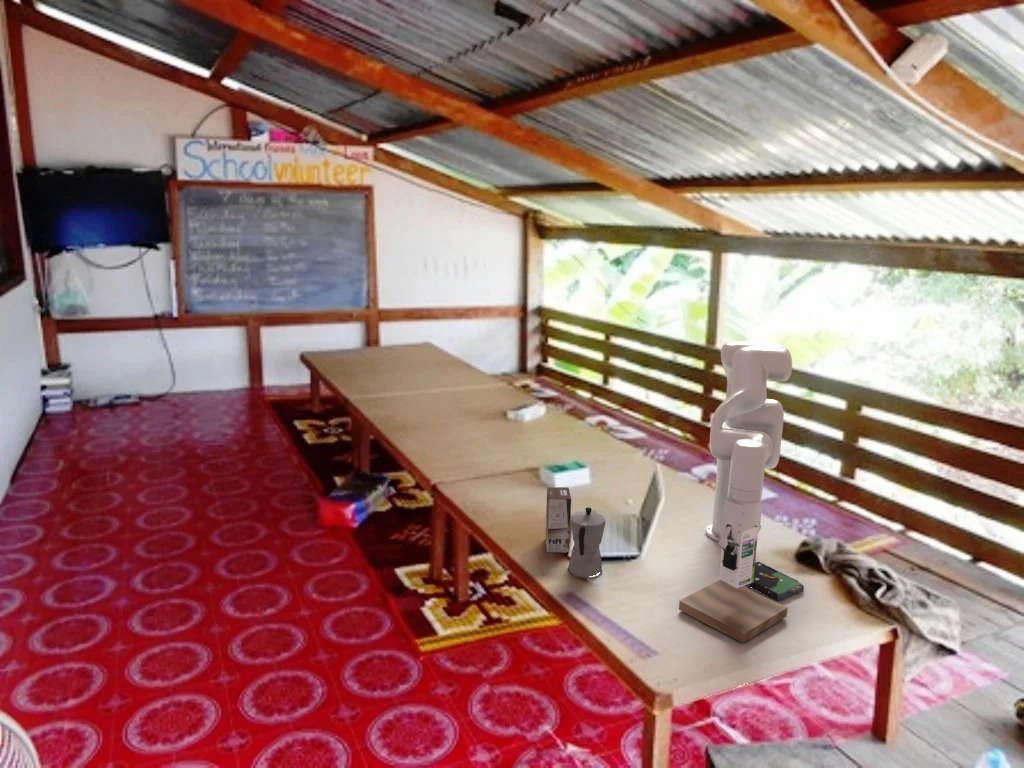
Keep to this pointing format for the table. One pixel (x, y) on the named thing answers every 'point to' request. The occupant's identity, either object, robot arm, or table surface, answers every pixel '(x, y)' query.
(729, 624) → the walnut stand
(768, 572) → the disk drive
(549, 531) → the coffee box
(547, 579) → the table surface
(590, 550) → the coffeepot
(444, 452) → the table surface
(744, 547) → the syrup box
